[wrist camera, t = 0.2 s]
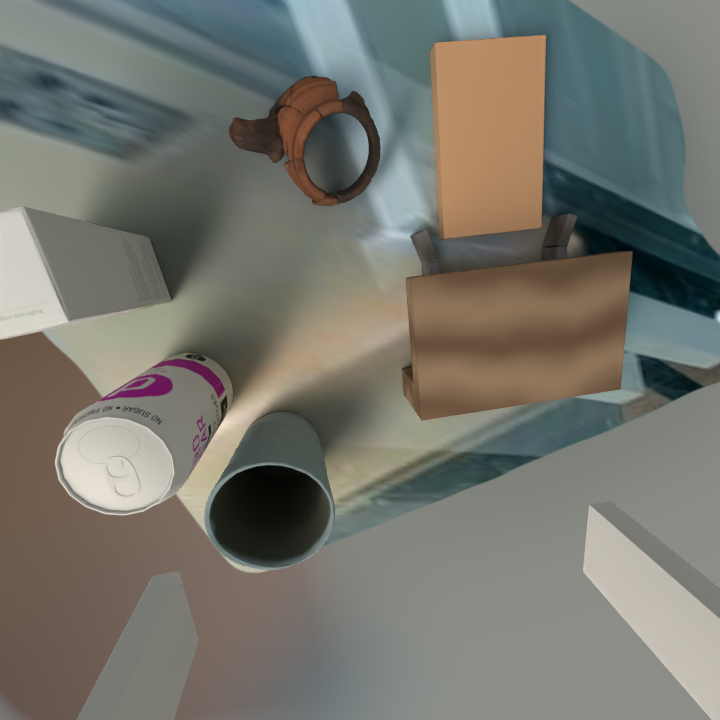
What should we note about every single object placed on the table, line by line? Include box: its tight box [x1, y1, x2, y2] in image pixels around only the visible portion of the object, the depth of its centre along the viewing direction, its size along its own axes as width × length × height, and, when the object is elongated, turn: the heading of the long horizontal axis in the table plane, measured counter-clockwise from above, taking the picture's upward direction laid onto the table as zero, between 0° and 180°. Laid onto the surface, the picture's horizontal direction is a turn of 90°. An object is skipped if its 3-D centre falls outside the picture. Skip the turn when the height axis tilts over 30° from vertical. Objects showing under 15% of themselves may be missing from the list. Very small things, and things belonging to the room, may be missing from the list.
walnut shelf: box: [402, 213, 633, 420], centre depth 35 cm, size 17×20×7 cm
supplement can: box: [55, 353, 233, 515], centre depth 30 cm, size 8×8×15 cm
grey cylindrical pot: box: [204, 412, 335, 570], centre depth 34 cm, size 10×10×12 cm
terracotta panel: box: [430, 35, 546, 240], centre depth 34 cm, size 16×10×2 cm, turn 6°
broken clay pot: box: [229, 76, 381, 206], centre depth 30 cm, size 12×9×8 cm
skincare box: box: [0, 207, 171, 340], centre depth 26 cm, size 8×7×16 cm
